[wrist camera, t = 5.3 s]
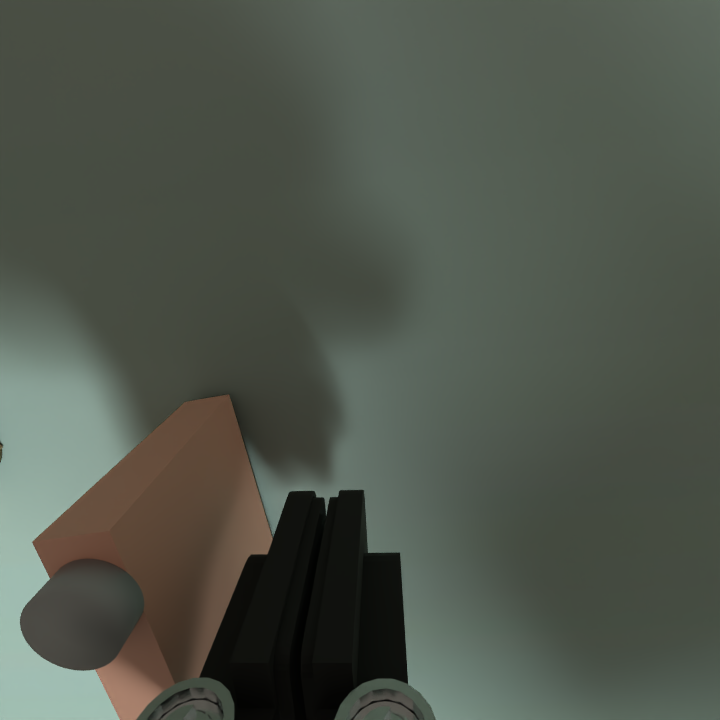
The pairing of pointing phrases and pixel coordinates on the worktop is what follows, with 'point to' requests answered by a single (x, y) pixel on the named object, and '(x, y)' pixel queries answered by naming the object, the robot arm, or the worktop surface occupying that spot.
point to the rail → (151, 558)
